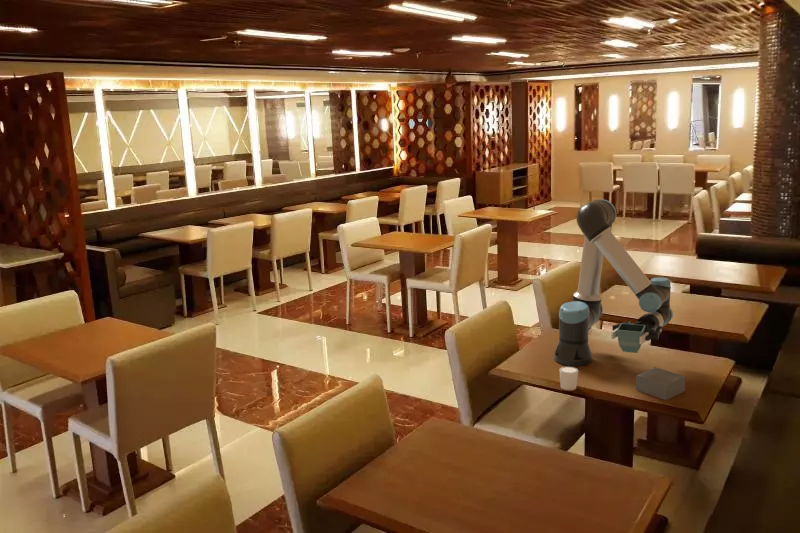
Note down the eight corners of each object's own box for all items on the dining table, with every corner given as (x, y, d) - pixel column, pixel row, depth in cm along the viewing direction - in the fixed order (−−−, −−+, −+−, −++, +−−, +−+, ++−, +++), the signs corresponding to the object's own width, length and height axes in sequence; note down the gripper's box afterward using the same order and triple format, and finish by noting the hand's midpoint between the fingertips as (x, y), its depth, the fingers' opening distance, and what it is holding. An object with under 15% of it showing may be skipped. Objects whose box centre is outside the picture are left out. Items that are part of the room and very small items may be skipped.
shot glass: (576, 383, 251) (576, 366, 249) (579, 391, 244) (579, 373, 243) (557, 383, 252) (558, 366, 250) (560, 391, 245) (560, 373, 243)
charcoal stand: (635, 390, 244) (636, 375, 242) (654, 382, 251) (655, 367, 249) (665, 401, 234) (666, 384, 233) (684, 391, 241) (685, 376, 240)
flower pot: (616, 353, 245) (616, 329, 243) (620, 345, 252) (620, 322, 251) (641, 355, 241) (642, 332, 239) (644, 348, 248) (645, 325, 247)
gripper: (679, 337, 252) (656, 353, 236) (621, 327, 267) (596, 342, 250) (680, 318, 250) (657, 333, 234) (622, 309, 265) (597, 323, 249)
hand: (626, 338), depth 242 cm, fingers closed on flower pot, 10 cm apart
